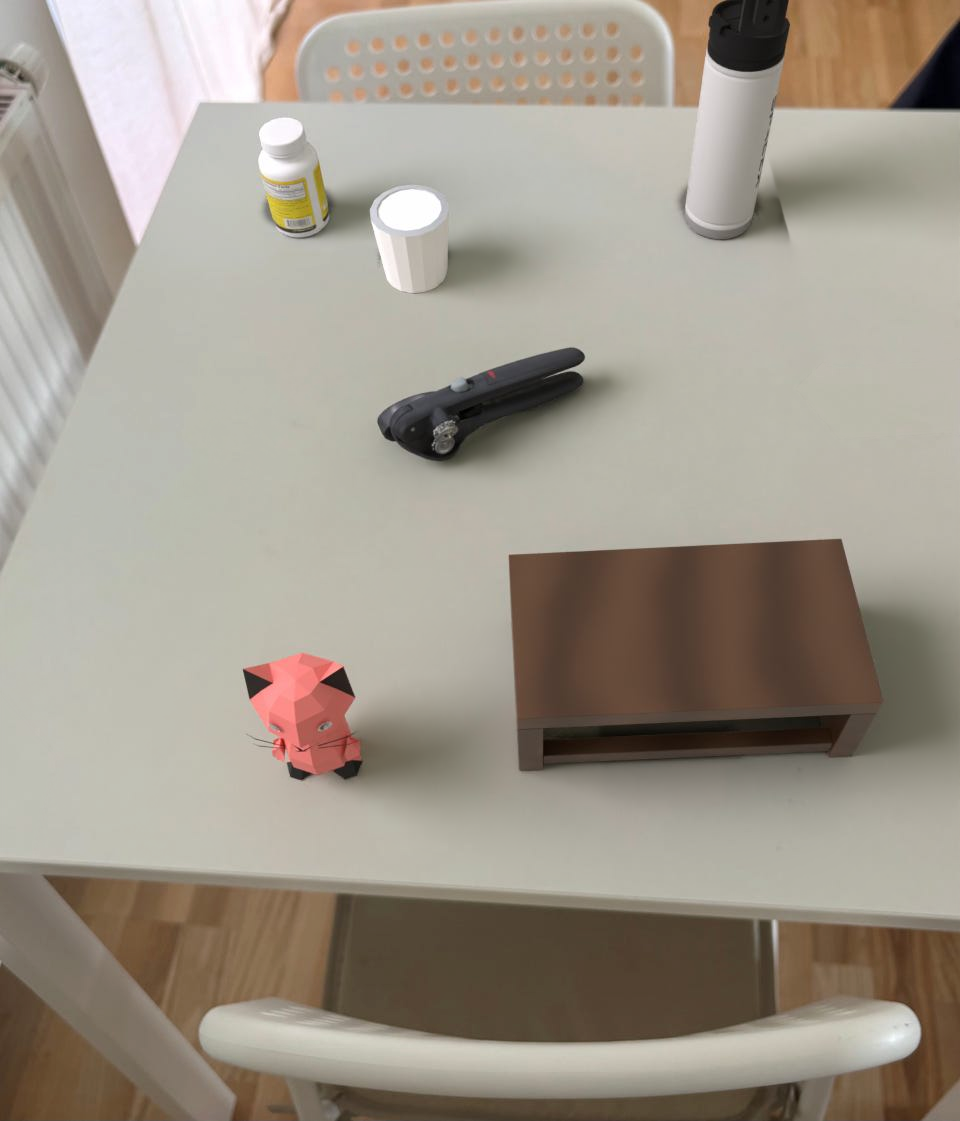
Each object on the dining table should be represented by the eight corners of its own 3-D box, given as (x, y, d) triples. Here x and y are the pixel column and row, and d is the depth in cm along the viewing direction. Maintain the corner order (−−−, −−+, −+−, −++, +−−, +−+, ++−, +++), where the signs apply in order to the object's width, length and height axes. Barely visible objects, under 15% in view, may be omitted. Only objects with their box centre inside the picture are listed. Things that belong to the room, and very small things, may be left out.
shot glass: (411, 309, 98) (403, 246, 92) (363, 271, 101) (353, 208, 95) (469, 272, 100) (465, 209, 94) (421, 236, 103) (414, 172, 97)
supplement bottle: (304, 194, 107) (285, 104, 99) (341, 218, 105) (325, 128, 97) (262, 222, 105) (239, 132, 97) (298, 247, 103) (278, 157, 95)
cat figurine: (268, 801, 73) (225, 722, 63) (278, 707, 76) (239, 619, 66) (374, 799, 72) (349, 719, 62) (379, 705, 76) (356, 616, 66)
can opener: (406, 487, 87) (398, 441, 82) (373, 427, 90) (364, 379, 86) (604, 409, 90) (608, 360, 86) (565, 354, 94) (566, 305, 89)
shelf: (816, 601, 79) (841, 538, 73) (852, 756, 73) (883, 702, 66) (511, 616, 80) (508, 554, 73) (519, 771, 73) (516, 718, 66)
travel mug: (668, 209, 104) (693, 2, 87) (729, 189, 105) (765, -20, 88) (701, 249, 100) (734, 42, 84) (764, 228, 102) (808, 19, 85)
